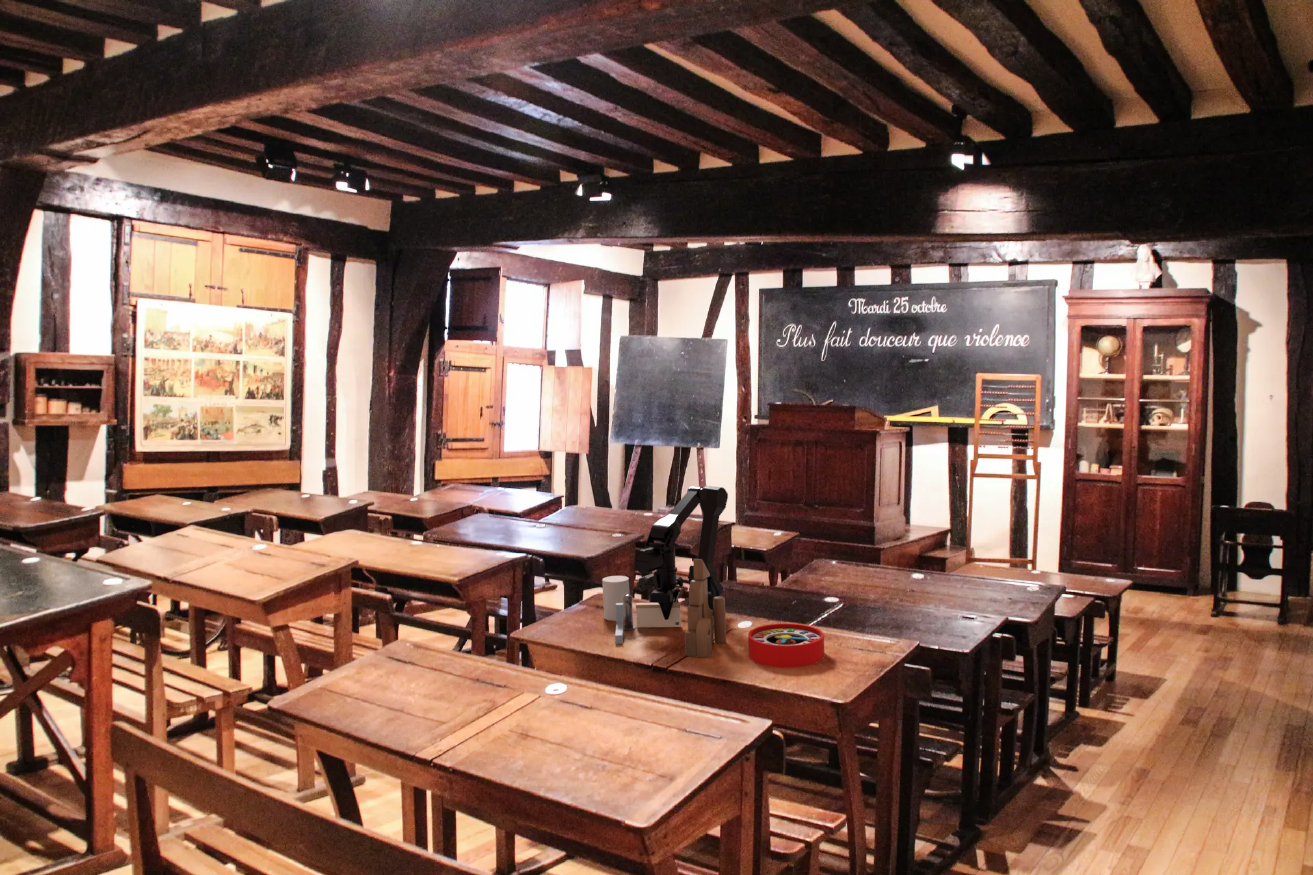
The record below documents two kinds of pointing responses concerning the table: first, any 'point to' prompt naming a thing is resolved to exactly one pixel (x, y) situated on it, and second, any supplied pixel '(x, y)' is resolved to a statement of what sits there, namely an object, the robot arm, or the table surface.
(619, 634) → the strip
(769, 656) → the toy clock
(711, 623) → the wooden toy
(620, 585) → the off-white flat-topped cylinder
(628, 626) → the grey metallic round-topped post
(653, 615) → the beige flat block
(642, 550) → the robot arm
